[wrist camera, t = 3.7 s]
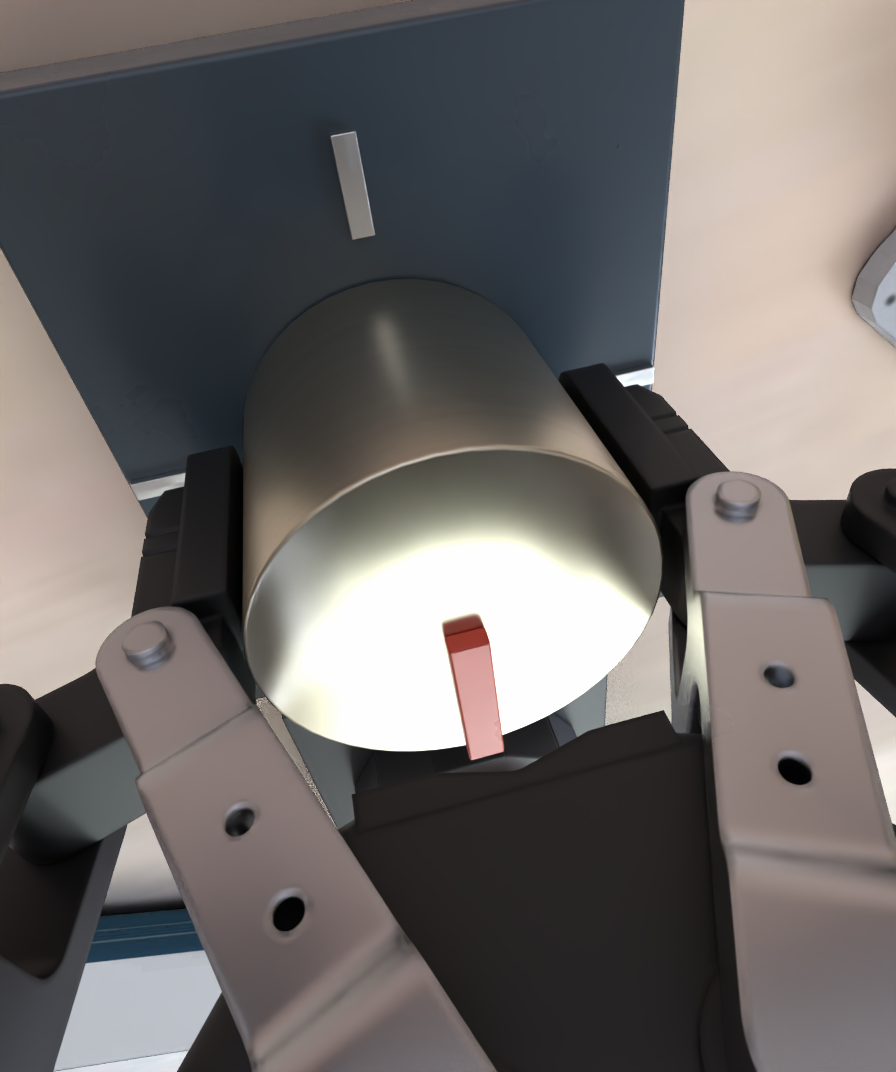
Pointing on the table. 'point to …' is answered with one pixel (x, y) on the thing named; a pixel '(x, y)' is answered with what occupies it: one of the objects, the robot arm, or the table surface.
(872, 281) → the emergency button
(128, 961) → the external hard drive
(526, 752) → the button box
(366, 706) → the dial knob
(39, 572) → the table surface
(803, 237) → the table surface
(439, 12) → the dial panel
